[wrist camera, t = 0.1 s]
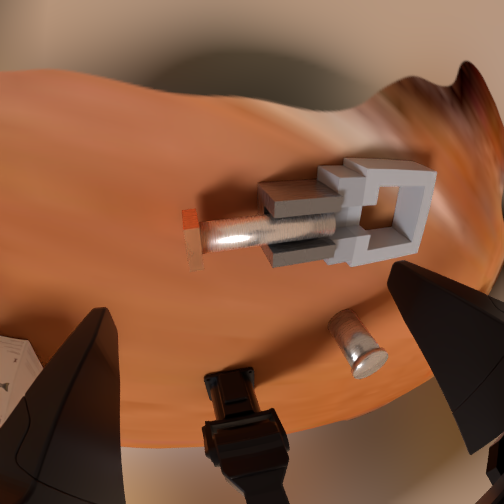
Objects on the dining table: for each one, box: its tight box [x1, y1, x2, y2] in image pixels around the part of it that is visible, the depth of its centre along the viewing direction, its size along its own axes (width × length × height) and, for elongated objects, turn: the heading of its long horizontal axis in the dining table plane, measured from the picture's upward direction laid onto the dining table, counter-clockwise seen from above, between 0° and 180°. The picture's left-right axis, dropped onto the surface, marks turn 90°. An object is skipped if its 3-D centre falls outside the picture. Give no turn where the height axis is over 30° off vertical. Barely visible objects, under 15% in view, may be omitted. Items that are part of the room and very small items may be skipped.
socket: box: [317, 158, 437, 267], centre depth 23 cm, size 9×12×4 cm
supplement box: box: [0, 336, 43, 427], centre depth 18 cm, size 7×7×13 cm
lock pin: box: [182, 209, 336, 272], centre depth 20 cm, size 3×11×3 cm, turn 91°
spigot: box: [328, 309, 388, 379], centre depth 30 cm, size 5×5×8 cm
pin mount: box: [257, 179, 343, 268], centre depth 21 cm, size 5×5×4 cm
